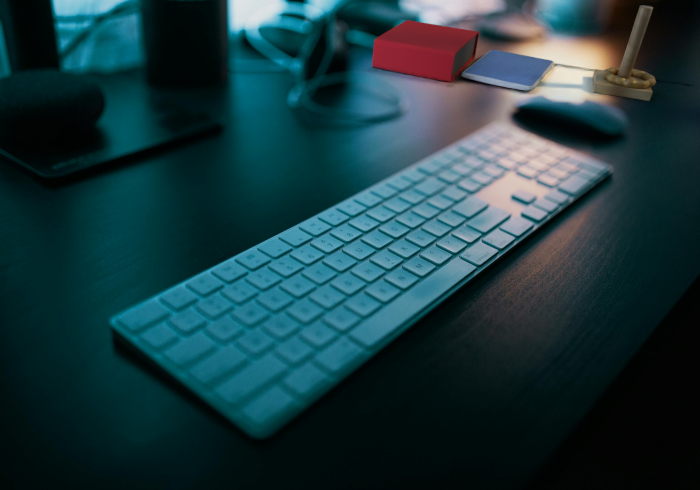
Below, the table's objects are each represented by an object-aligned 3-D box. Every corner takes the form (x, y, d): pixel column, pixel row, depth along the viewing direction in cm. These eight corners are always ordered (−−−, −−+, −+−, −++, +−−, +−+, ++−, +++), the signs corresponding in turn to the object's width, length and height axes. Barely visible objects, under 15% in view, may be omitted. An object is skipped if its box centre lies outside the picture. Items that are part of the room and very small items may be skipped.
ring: (651, 77, 103) (653, 71, 102) (656, 92, 96) (658, 85, 95) (601, 70, 105) (603, 63, 104) (603, 84, 98) (605, 76, 97)
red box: (405, 45, 116) (408, 19, 113) (474, 57, 112) (479, 30, 109) (371, 68, 102) (374, 39, 99) (449, 83, 98) (454, 53, 95)
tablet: (490, 54, 114) (491, 47, 114) (554, 66, 110) (556, 59, 109) (458, 80, 100) (460, 72, 99) (531, 95, 96) (533, 87, 95)
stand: (645, 85, 104) (673, 5, 96) (649, 101, 97) (680, 16, 89) (592, 77, 106) (616, -2, 98) (593, 92, 99) (618, 8, 91)
